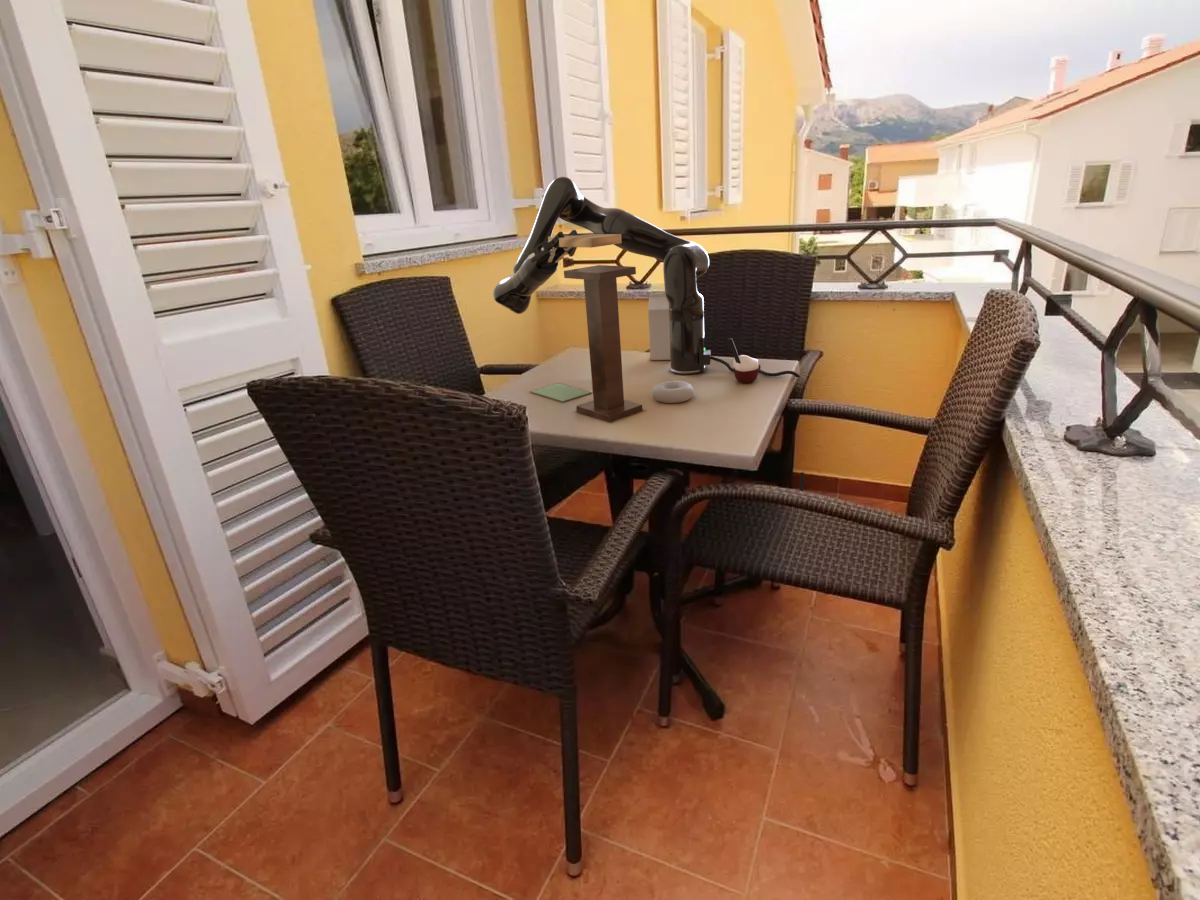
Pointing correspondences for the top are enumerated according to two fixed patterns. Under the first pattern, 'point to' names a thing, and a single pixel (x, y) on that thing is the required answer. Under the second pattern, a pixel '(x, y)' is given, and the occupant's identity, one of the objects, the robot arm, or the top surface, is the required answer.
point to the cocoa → (744, 366)
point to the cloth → (560, 392)
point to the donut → (672, 391)
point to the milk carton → (659, 327)
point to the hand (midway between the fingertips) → (569, 234)
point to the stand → (604, 342)
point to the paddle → (588, 240)
